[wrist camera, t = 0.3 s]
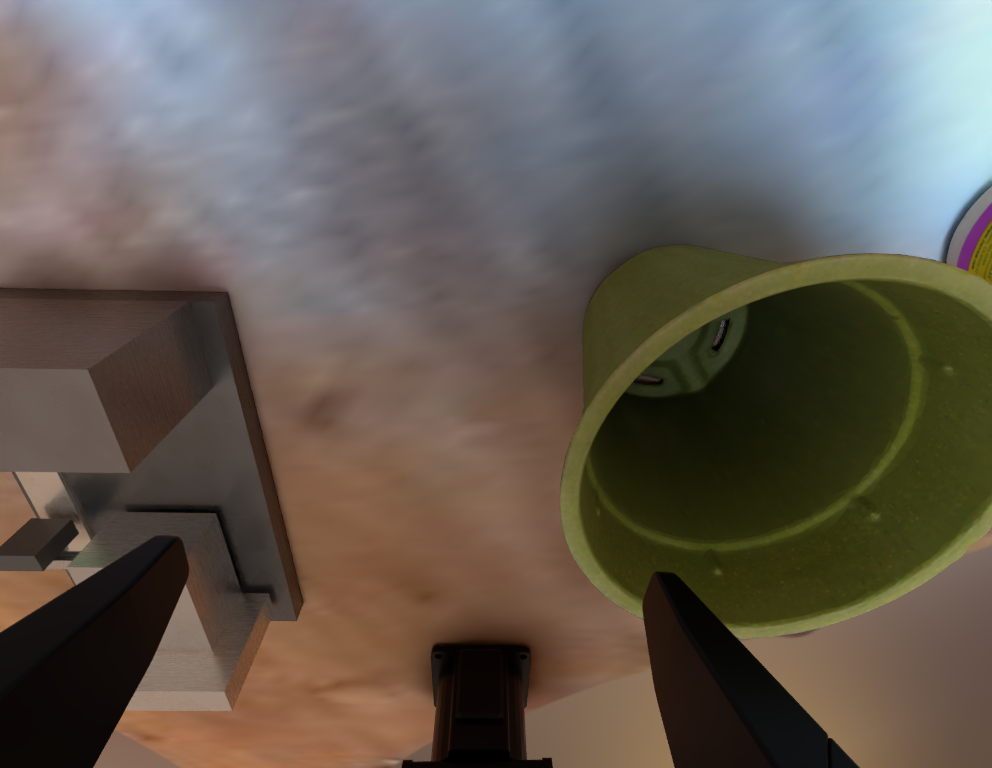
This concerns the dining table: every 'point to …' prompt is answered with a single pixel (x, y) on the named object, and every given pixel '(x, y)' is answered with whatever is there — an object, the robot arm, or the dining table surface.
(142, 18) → the dining table surface
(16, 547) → the charcoal cuboid
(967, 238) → the supplement bottle
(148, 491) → the gauge bench
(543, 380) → the dining table surface
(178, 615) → the block with end plate
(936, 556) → the plant pot
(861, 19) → the dining table surface
